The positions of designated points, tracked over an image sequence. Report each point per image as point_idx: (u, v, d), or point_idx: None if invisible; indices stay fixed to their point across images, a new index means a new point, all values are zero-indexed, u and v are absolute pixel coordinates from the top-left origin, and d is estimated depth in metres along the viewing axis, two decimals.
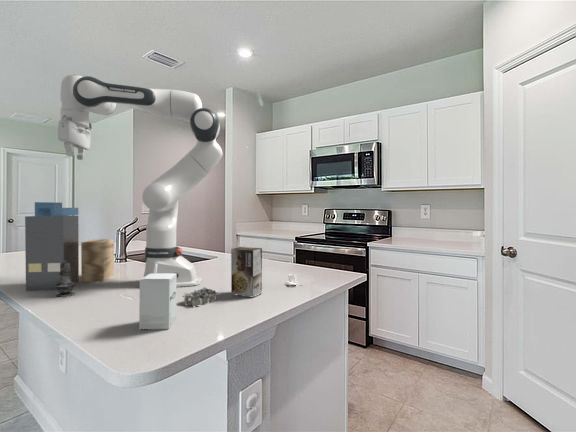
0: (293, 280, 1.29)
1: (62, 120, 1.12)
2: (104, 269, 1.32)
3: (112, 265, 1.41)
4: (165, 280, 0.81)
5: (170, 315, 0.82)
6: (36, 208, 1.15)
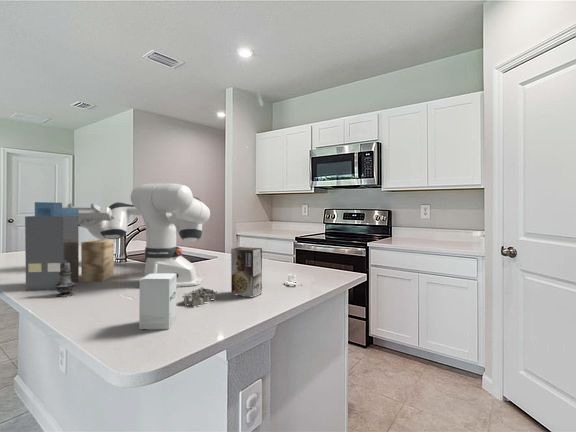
0: (292, 280, 1.29)
1: (113, 216, 1.56)
2: (104, 269, 1.32)
3: (112, 265, 1.41)
4: (165, 280, 0.81)
5: (170, 315, 0.82)
6: (36, 208, 1.15)
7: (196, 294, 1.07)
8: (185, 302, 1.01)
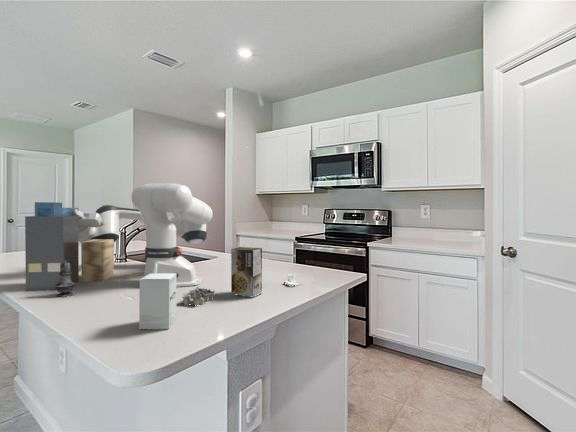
0: (292, 280, 1.29)
1: (103, 223, 1.43)
2: (104, 269, 1.32)
3: (112, 265, 1.41)
4: (165, 280, 0.81)
5: (170, 315, 0.82)
6: (36, 208, 1.15)
7: (194, 294, 1.06)
8: (186, 302, 1.00)
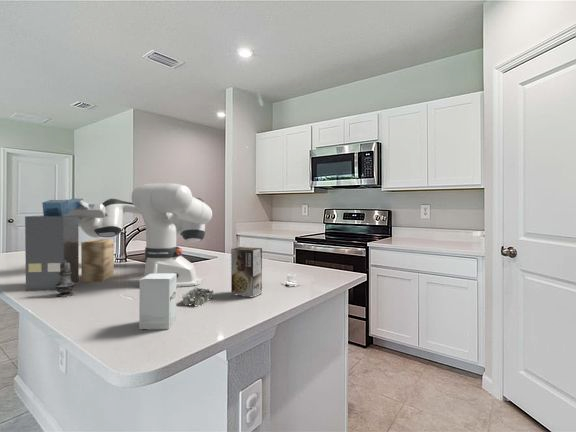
0: (292, 280, 1.29)
1: (107, 214, 1.48)
2: (104, 269, 1.32)
3: (112, 265, 1.41)
4: (165, 280, 0.81)
5: (170, 315, 0.82)
6: (44, 208, 1.20)
7: (193, 294, 1.06)
8: (186, 302, 1.00)
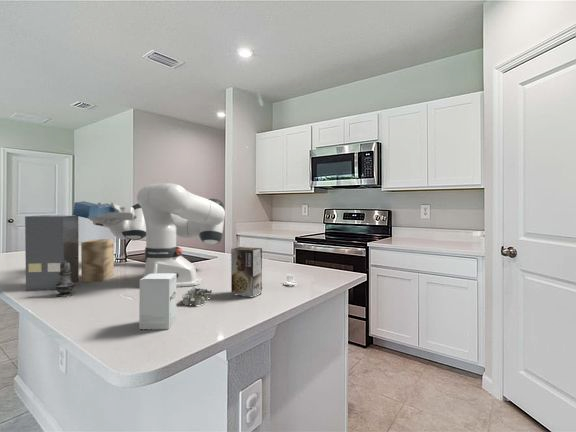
0: (291, 280, 1.29)
1: (136, 216, 1.55)
2: (104, 269, 1.32)
3: (112, 265, 1.41)
4: (165, 280, 0.81)
5: (170, 315, 0.82)
6: (75, 208, 1.26)
7: (191, 294, 1.06)
8: (186, 303, 1.00)
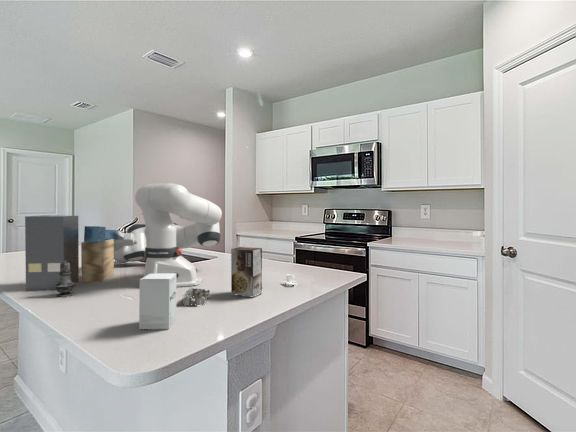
0: (291, 280, 1.29)
1: (136, 242, 1.55)
2: (104, 269, 1.32)
3: (112, 265, 1.41)
4: (165, 280, 0.81)
5: (170, 315, 0.82)
6: (92, 227, 1.26)
7: (190, 294, 1.06)
8: (187, 303, 1.00)
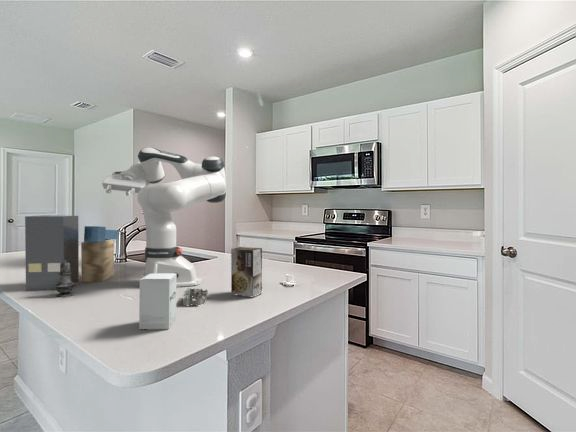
0: (290, 280, 1.29)
1: None
2: (104, 269, 1.32)
3: (112, 265, 1.41)
4: (165, 280, 0.81)
5: (170, 315, 0.82)
6: (92, 227, 1.26)
7: (188, 295, 1.06)
8: (187, 303, 1.00)
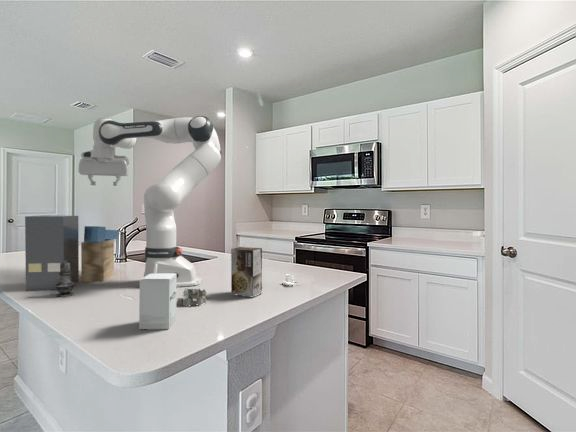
0: (290, 280, 1.29)
1: (128, 161, 1.51)
2: (104, 269, 1.32)
3: (112, 265, 1.41)
4: (165, 280, 0.81)
5: (170, 315, 0.82)
6: (92, 227, 1.26)
7: (187, 295, 1.05)
8: (188, 303, 1.00)
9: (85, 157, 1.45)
